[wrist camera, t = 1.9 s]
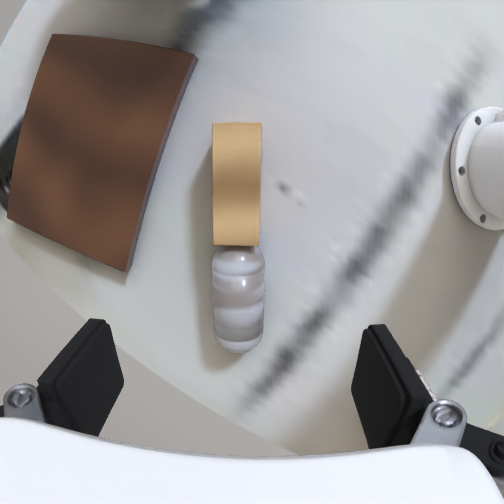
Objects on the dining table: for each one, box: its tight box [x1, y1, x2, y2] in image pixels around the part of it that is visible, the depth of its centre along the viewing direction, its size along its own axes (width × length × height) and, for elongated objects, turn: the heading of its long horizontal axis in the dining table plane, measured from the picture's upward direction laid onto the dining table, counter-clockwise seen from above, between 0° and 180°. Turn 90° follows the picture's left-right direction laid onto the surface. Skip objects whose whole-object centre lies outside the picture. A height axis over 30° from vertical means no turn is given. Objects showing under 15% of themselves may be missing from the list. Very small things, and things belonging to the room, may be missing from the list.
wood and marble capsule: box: [211, 122, 265, 353], centre depth 26 cm, size 20×4×4 cm, turn 179°
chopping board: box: [7, 34, 198, 272], centre depth 25 cm, size 20×16×2 cm
